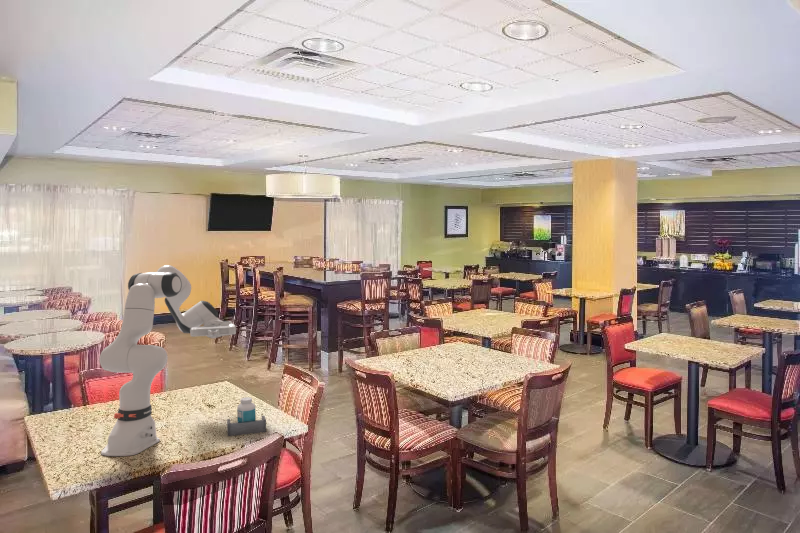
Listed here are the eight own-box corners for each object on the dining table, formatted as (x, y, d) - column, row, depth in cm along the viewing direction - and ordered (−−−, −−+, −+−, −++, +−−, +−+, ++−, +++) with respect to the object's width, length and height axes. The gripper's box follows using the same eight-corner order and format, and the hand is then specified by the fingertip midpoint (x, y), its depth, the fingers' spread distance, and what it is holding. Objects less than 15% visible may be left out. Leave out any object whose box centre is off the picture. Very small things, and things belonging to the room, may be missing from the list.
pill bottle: (258, 427, 241) (258, 396, 240) (251, 433, 233) (251, 401, 233) (241, 426, 241) (241, 395, 241) (234, 432, 234) (234, 400, 233)
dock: (266, 431, 235) (266, 420, 235) (227, 436, 230) (227, 424, 230) (264, 426, 241) (264, 415, 241) (227, 430, 236) (227, 419, 236)
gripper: (189, 323, 264) (189, 327, 251) (234, 321, 271) (236, 325, 258) (190, 336, 265) (189, 341, 252) (235, 334, 271) (236, 338, 258)
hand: (213, 333), depth 255 cm, fingers closed
